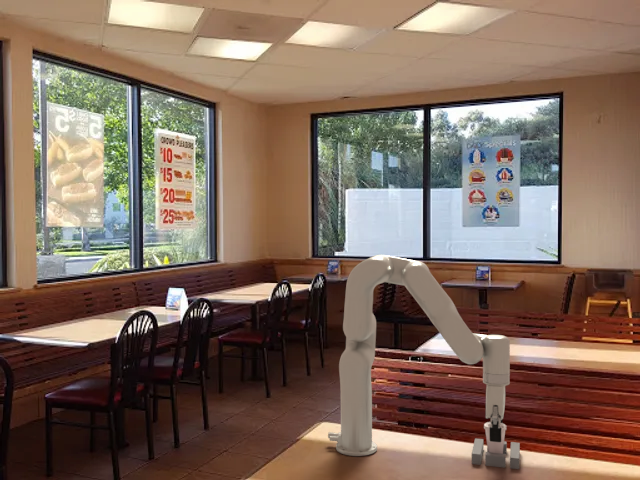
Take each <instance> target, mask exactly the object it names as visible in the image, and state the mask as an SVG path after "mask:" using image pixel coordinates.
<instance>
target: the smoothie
mask: <svg viewBox="0 0 640 480" xmlns="http://www.w3.org/2000/svg"><path fill="white" fill-rule="evenodd" d="M490 422H491V421H487V422H485V423H484V424H483V429H484V430H485V438H486V446H488V452H492V453H501V454H503V446H504V441H505V437H506V436H505V435H506V431H507V425H506V424H505V423H503V422H502V423H500V428H501V442H492V441H490Z"/></svg>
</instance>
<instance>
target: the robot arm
mask: <svg viewBox="0 0 640 480" xmlns="http://www.w3.org/2000/svg"><path fill="white" fill-rule="evenodd" d="M383 283H389V284H394V285H400V286H404V287H405V288H406V290H407V291H408V292H409V294H410V295H411V296H412V297H413V299H414V300H415V301H416V302H417V304H418V305H419V307H420V308H421V309H422V311H423V312H424V314H426V316H427V318H429V320H430V322H431V323H432V324H433V326H434V327H435V329H437V331H438V332H439V333H440V336H441V337H442V339H444V340H445V343H447V345H448V347H450V349H451V350H452V351H453V353H454V355H456V356H457V358H458V359H459V360H460V361H461V362H462V363H465V364H467V365H474V364H475V365H476V364H477V363H479V362H480V361H481V360H482V383H483V384H485V385H486V389H485V419H487V420H488V419H490V421H489V422H490V441H492V442H501V428H500V423H503V420H504V414H505V408H506V386H509V385H510V383H511V382H510V375H511V369H510V368H511V367H510V366H511V365H510V364H511V362H510V361H511V357H510V354H511V352H510V351H511V349H510V347H511V343H510V338H509V337H508V336H505V335H502V334H488V335H487V334H480V333H475V332H474V333H473V332H472V330H471V329H470V328H469V327H468V325H467V324H466V323H465V321H464V320H463V318H462V316H461V315H460V313H459V312H458V309H457V307H456V304H454V301H453V299H452V298H451V297H450V296H449V295H448V294H447V292H446V291H445V290H444V288H443V287H442V285H440V283H439V282H438V281H437V280H436V278H435V277H434V276H433V274H432V272H431V270H430V268H429V267H428V266H427V264H426V263H424V262H422V261H420V260H413V259H407V258H402V257H397V256H392V255H391V256H390V255H386V254H376V255H373V256H371V257H369V258H366V259H364V260H363V261H361V262H359V263H358V264H357V265H356V266H354V267H353V268H352V270H351V271H350V273H349V275H348V277H347V280H346V287H345V296H344V297H345V298H344V309H343V310H344V312H343V323H342V331H343V333H344V336H345V349H344V351H343V352H342V353H341V356H340V359H339V362H338V363H339V364H338V372H339V383H340V384H339V385H340V387H339V388H340V431H338V433H337V432H333V431H329V432H328V433H327V434H328V435H327V438H328V439H329V441H330V442H336V444H335V449H336V451H337V452H338V453H339V454H343V455H345V456H349V457H351V456H352V457H363V456H369V455H372V454H374V453H375V452H376V451H378V445H377V443H376V442H375V441H373V397H372V396H373V393H372V392H373V391H372V390H373V387H372V366H373V363H374V362H375V356H376V343H377V341H376V339H377V319H376V316H375V315H374V312H373V304H374V290H375V288H376V287H377V286H378V285H380V284H383Z"/></svg>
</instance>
